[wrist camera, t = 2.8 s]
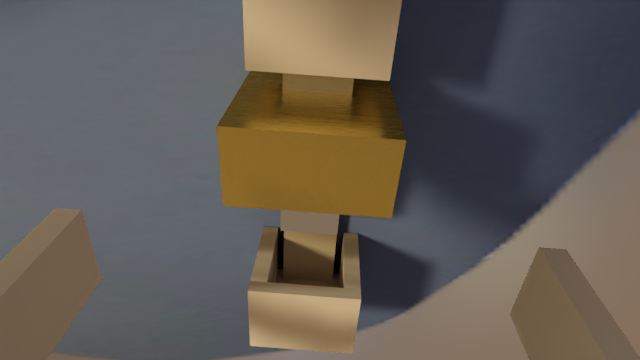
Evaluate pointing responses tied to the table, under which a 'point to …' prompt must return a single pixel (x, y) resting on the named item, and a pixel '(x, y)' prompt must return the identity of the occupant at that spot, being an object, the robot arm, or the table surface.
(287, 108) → the golden wooden block
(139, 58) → the table surface
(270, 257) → the sleeve and socket
